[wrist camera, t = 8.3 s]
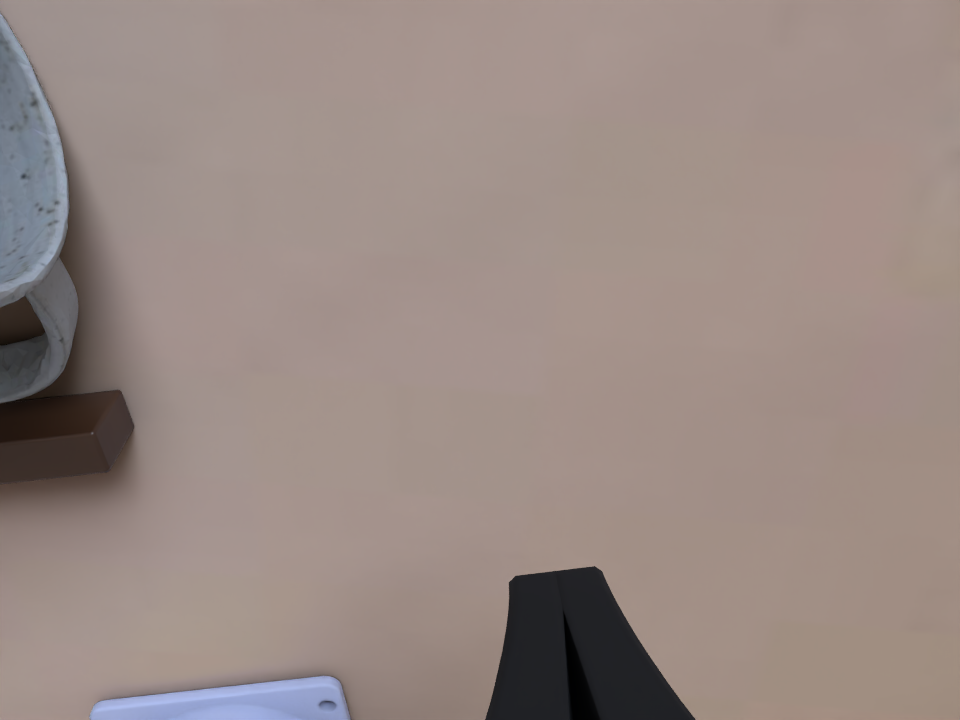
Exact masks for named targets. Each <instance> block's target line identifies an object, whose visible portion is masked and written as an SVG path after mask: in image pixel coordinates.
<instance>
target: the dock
mask: <svg viewBox="0 0 960 720" xmlns="http://www.w3.org/2000/svg"><path fill="white" fill-rule="evenodd" d="M133 428H134V424H133V422H132V419H131V416H130V414H129V411H128V408H127V406H126V403H125V400H124V398H123V395H122V392H121V391H120V390H113V391H104V392H96V393H87V394H78V395H70V396H61V397H52V398H43V399H35V400H26V401H17V402H8V403H0V484H7V483H16V482H25V481H34V480H43V479H52V478H60V477H69V476H78V475H87V474H96V473H104V472H108V471H110V469H111V468H112V466H113V464H114V462H115V460H116V459H117V457H118V455H119V453H120V452H121V450H122V448H123V446H124V444H125V443H126V441H127V439H128V437H129V435H130V434H131V432H132V430H133Z"/></svg>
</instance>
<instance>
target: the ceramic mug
mask: <svg viewBox="0 0 960 720" xmlns="http://www.w3.org/2000/svg"><path fill="white" fill-rule="evenodd" d="M68 187H69V178H68V174H67V170H66V165H65V161H64V154H63V148H62V142H61V139H60V136H59V133H58V129H57V126H56V123H55V120H54V117H53V115H52V112H51V109H50V107H49V104H48V102H47V99H46V97H45V94H44V92H43V90H42V88H41V86H40V83H39V81H38V79H37V77H36V75H35V73H34V71H33V69H32V66H31V64H30V62H29V60H28V58H27V56H26V54H25V52H24V50H23V49H22V47H21V46H20V44H19V42H18V40H17V39H16V37H15V35H14V33H13V32H12V30H11V28H10V26H9V25H8V23H7V21H6V20H5V18H4V17H3V16H2V14H1V13H0V307H3V306H5V305H8V304H10V303H13V302H15V301H18V300H19V299H21V298H22V297H24V296H26V298H27V299H28V301H29V302H30V304H31V305H32V308H33V310H34V312H35V314H36V315H37V316H38V318H39V319H40V321H41V323H42V325H43V327H44V329H45V333H44V334H43V335H42V336H40V337H35V338H32V339H30V340H25V341H21V342H17V343H13V344H8V345H3V346H0V403H5V402H10V401H14V400H18V399H21V398H24V397H27V396H30V395H32V394H35V393H37V392H39V391H41V390H43V389H45V388H46V387H48V386H49V385H51V384H52V383H53V382H54V381H55V380H56V379H57V378H58V377H59V376H60V374H61V373H62V372H63V370H64V369H65V366H66V363H67V360H68V358H69V355H70V352H71V348H72V342H73V337H74V333H75V328H76V324H77V318H78V297H77V293H76V289H75V286H74V283H73V281H72V279H71V278H70V276H69V274H68V272H67V270H66V268H65V266H64V265H63V263H62V261H61V259H60V257H59V255H60V253H61V250H62V247H63V245H64V242H65V238H66V234H67V230H68V216H69V210H70V204H69V191H68Z"/></svg>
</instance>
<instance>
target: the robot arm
mask: <svg viewBox="0 0 960 720" xmlns="http://www.w3.org/2000/svg"><path fill="white" fill-rule="evenodd" d="M89 717H90V720H351V718H350V714H349V711H348V707H347V704H346V700H345V696H344V693H343V689H342V686H341V684H340V682H339V681H338V680H337V679H335V678H334V677H330V676H318V677H309V678H300V679H291V680H281V681H272V682H263V683H254V684H245V685H236V686H227V687H218V688H209V689H200V690H191V691H182V692H173V693H164V694H155V695H146V696H137V697H128V698H119V699H109V700H103V701H99V702H97V703H96V704H94V707H93V709H92V711H91V714H90V716H89ZM485 720H695V718H694V717H693V716H692V715H691V713H690V712H689V711H688V709H687V708H686V707H685V705H684V704H683V703H682V702H681V700H680V699H679V698H678V696H677V695H676V693H675V692H674V691H673V689H672V688H671V687H670V685H669V684H668V683H667V681H666V680H665V678H664V677H663V675H662V674H661V672H660V671H659V669H658V668H657V666H656V665H655V664H654V662H653V661H652V659H651V658H650V656H649V655H648V653H647V652H646V650H645V649H644V647H643V646H642V644H641V643H640V641H639V639H638V638H637V636H636V635H635V633H634V631H633V630H632V628H631V626H630V625H629V623H628V621H627V620H626V618H625V616H624V615H623V613H622V611H621V609H620V607H619V606H618V604H617V602H616V600H615V598H614V596H613V594H612V592H611V590H610V588H609V586H608V584H607V582H606V580H605V577H604V575H603V572H602V571H601V570H599V569H598V568H596V567H595V566H594V567H586V568H578V569H569V570H561V571H553V572H545V573H536V574H528V575H520V576H515V577H514V578H513V579H512V580H511V581H510V582H509V610H508V620H507V627H506V633H505V639H504V645H503V651H502V656H501V660H500V664H499V669H498V673H497V678H496V682H495V686H494V691H493V695H492V699H491V702H490V706H489V709H488V712H487V716H486V719H485Z"/></svg>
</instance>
